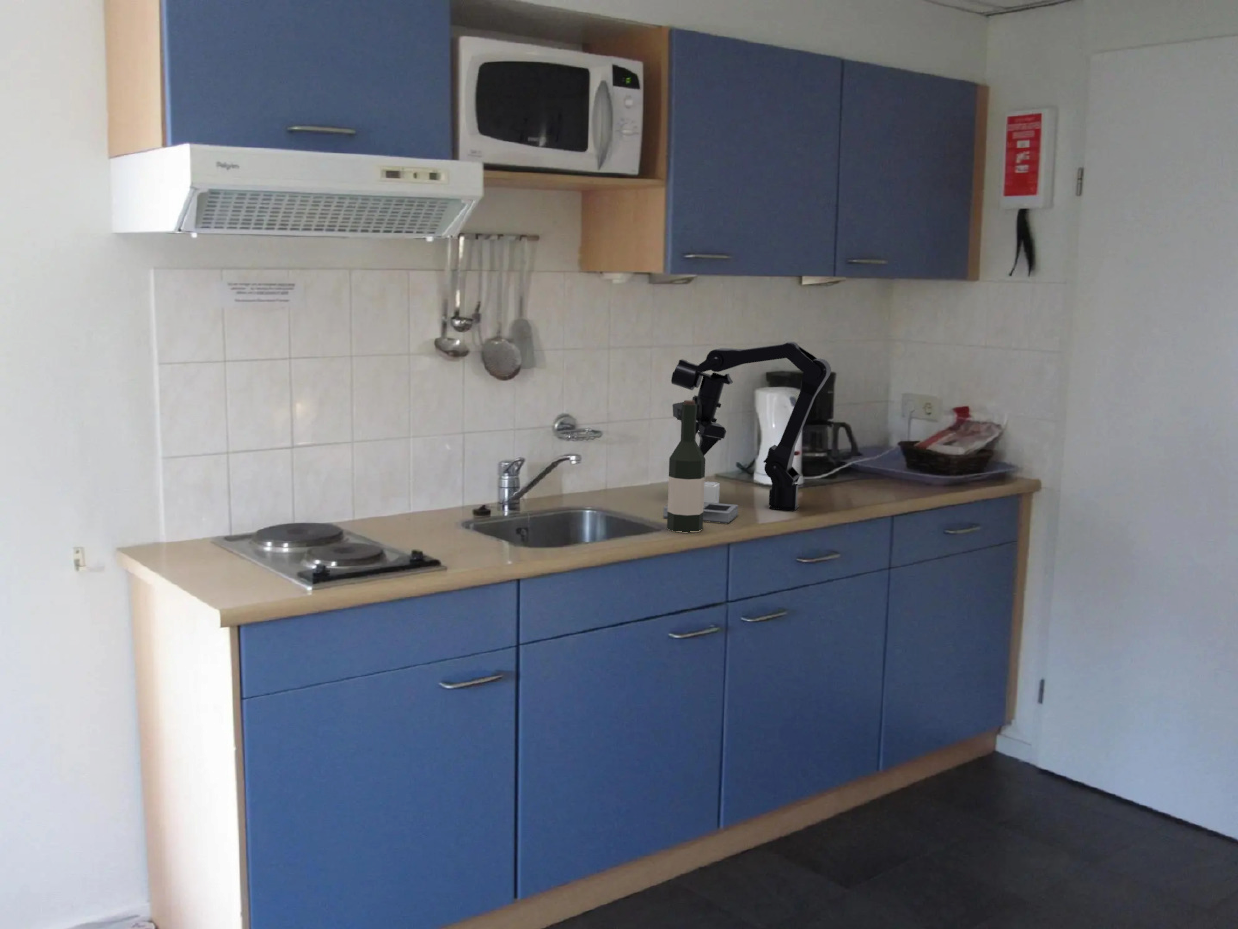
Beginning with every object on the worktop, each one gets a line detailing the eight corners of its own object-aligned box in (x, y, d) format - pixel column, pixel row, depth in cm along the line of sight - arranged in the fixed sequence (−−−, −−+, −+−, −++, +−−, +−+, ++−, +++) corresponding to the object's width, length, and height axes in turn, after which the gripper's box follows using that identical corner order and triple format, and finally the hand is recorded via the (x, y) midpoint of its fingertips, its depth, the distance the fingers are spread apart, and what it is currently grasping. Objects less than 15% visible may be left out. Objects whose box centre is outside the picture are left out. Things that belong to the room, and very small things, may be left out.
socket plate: (737, 515, 300) (738, 502, 300) (727, 524, 290) (728, 510, 289) (675, 509, 305) (675, 497, 304) (663, 518, 295) (663, 505, 294)
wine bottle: (687, 534, 277) (692, 403, 272) (659, 528, 282) (663, 400, 278) (710, 529, 283) (715, 401, 278) (682, 523, 289) (687, 397, 284)
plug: (718, 506, 311) (719, 482, 310) (714, 509, 306) (715, 485, 305) (703, 505, 312) (704, 480, 311) (698, 508, 308) (699, 484, 307)
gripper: (667, 381, 318) (651, 437, 322) (695, 400, 302) (678, 459, 305) (705, 388, 322) (689, 444, 326) (734, 407, 306) (717, 466, 310)
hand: (692, 452), depth 317 cm, fingers open, 9 cm apart
